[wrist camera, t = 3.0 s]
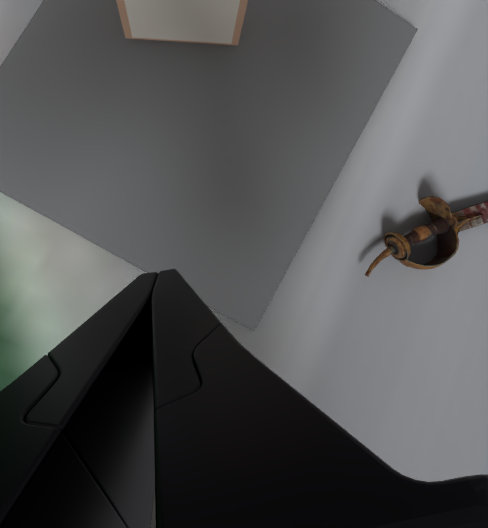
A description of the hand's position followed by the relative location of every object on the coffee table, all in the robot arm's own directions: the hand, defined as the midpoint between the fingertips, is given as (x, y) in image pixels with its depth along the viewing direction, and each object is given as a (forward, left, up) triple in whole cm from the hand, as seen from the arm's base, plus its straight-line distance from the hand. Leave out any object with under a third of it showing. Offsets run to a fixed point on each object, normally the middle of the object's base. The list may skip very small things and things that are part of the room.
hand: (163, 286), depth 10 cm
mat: (+4, -10, -13) cm, 17 cm away
